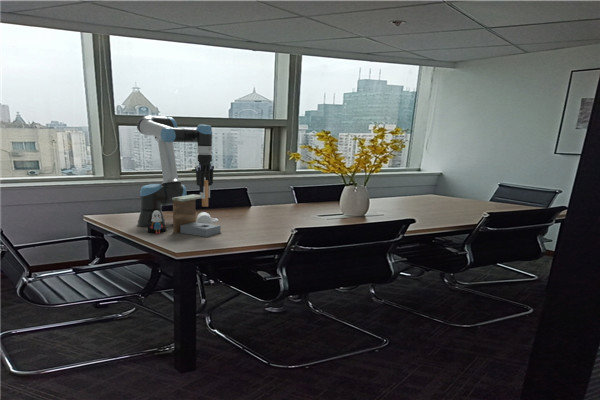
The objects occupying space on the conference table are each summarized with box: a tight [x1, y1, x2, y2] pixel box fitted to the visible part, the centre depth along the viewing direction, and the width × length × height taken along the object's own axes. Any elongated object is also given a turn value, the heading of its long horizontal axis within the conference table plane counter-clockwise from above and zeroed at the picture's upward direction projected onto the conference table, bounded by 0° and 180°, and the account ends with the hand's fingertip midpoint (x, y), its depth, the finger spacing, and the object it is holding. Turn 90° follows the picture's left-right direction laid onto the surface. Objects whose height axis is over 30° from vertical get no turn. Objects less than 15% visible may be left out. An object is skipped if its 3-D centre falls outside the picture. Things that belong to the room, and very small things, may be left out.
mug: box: [196, 211, 219, 224], centre depth 256 cm, size 12×10×8 cm
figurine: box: [147, 210, 167, 235], centre depth 239 cm, size 10×11×12 cm
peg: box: [201, 179, 209, 207], centre depth 237 cm, size 3×3×14 cm
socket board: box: [179, 221, 221, 237], centre depth 241 cm, size 18×12×4 cm, turn 63°
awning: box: [172, 193, 201, 234], centre depth 244 cm, size 8×17×19 cm, turn 153°
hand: (205, 197), depth 237 cm, fingers closed on peg, 3 cm apart
